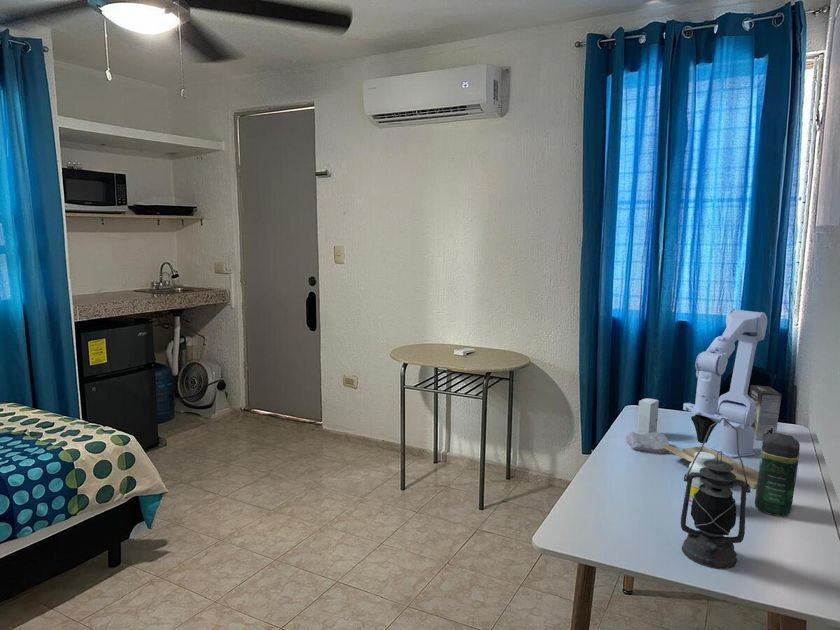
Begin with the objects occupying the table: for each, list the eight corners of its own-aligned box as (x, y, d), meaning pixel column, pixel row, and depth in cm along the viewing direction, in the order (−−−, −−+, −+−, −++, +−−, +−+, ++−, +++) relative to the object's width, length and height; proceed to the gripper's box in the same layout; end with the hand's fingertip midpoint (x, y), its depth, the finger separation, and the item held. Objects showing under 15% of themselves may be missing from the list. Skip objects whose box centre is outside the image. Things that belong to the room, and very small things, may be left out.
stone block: (672, 460, 182) (663, 442, 191) (674, 446, 180) (664, 429, 189) (632, 459, 183) (624, 441, 192) (633, 445, 181) (626, 428, 190)
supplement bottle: (713, 500, 151) (718, 452, 149) (716, 512, 145) (722, 462, 143) (684, 496, 153) (689, 448, 151) (686, 507, 147) (691, 457, 145)
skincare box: (648, 440, 193) (651, 403, 191) (635, 436, 196) (638, 400, 194) (657, 435, 197) (660, 400, 195) (643, 432, 200) (646, 397, 198)
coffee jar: (790, 521, 142) (800, 446, 139) (752, 511, 146) (761, 438, 143) (793, 505, 150) (802, 434, 147) (757, 496, 154) (765, 427, 151)
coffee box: (744, 430, 205) (749, 384, 202) (764, 431, 204) (769, 385, 201) (755, 439, 196) (760, 392, 193) (776, 441, 195) (782, 393, 192)
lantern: (676, 559, 124) (690, 420, 119) (677, 535, 133) (690, 406, 129) (744, 575, 119) (761, 430, 114) (739, 549, 129) (755, 415, 124)
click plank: (686, 456, 180) (688, 452, 180) (741, 484, 161) (743, 480, 161) (662, 447, 176) (664, 443, 176) (716, 475, 158) (718, 470, 158)
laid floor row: (702, 449, 186) (703, 446, 185) (776, 485, 161) (777, 480, 161) (682, 452, 183) (682, 448, 183) (754, 488, 159) (754, 484, 159)
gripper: (676, 389, 171) (672, 434, 173) (717, 403, 157) (711, 452, 159) (696, 387, 173) (691, 432, 175) (737, 401, 160) (731, 450, 162)
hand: (702, 442), depth 167 cm, fingers closed
